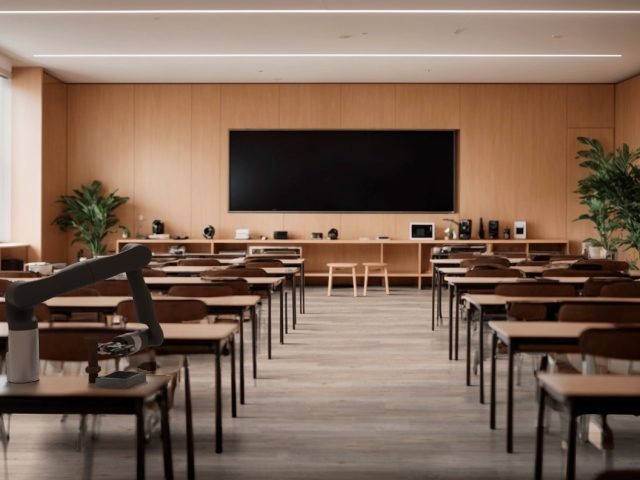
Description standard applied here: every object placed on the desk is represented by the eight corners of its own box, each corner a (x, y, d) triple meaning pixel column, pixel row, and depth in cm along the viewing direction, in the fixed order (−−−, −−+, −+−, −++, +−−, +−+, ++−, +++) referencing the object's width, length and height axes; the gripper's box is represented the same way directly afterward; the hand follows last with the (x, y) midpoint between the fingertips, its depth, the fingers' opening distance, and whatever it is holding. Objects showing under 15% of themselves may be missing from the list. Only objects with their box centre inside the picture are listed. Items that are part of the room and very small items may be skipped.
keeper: (95, 387, 224) (95, 377, 224) (115, 379, 235) (115, 370, 235) (127, 389, 221) (127, 379, 221) (146, 381, 232) (145, 372, 232)
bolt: (96, 385, 227) (95, 338, 227) (81, 384, 228) (80, 338, 228) (105, 381, 233) (104, 335, 232) (91, 380, 234) (90, 335, 233)
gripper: (108, 333, 252) (81, 341, 236) (144, 334, 248) (119, 342, 232) (108, 354, 252) (81, 363, 236) (144, 356, 248) (119, 365, 233)
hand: (100, 353), depth 234 cm, fingers open, 8 cm apart
